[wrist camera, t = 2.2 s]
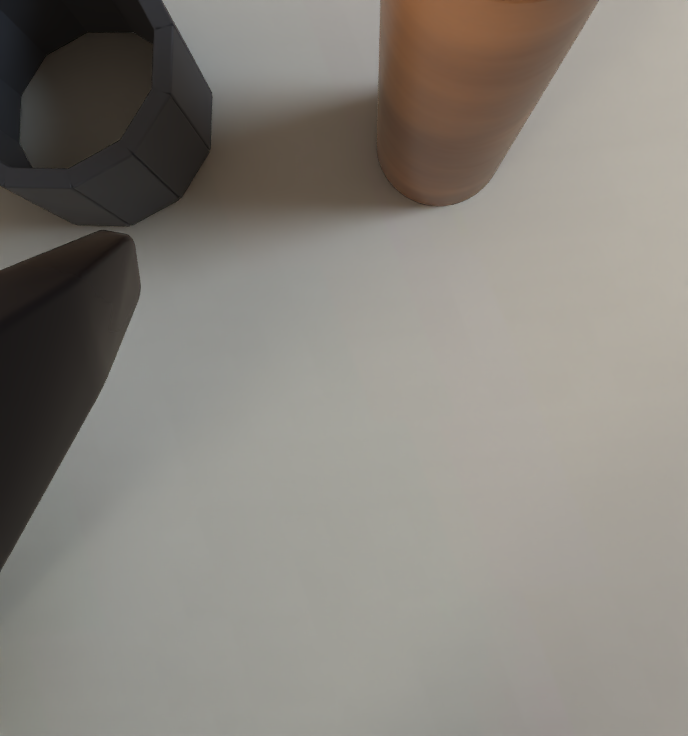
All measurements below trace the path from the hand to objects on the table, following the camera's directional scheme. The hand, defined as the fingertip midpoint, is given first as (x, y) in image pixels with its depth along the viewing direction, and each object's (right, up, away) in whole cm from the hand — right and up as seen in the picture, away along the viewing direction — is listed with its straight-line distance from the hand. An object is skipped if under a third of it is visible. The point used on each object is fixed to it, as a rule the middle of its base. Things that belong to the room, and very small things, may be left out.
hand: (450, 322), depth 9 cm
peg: (+2, +7, +14) cm, 15 cm away
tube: (-10, +8, +14) cm, 19 cm away
